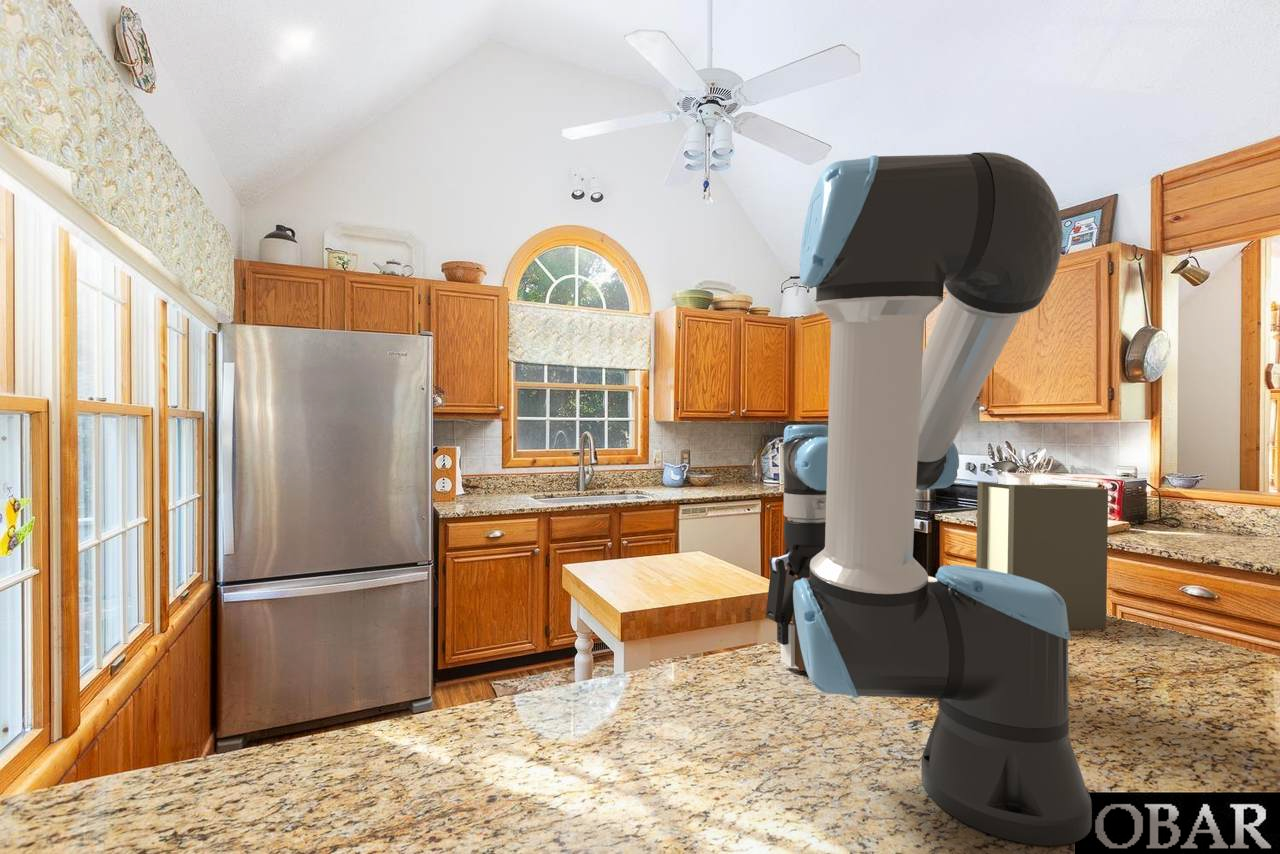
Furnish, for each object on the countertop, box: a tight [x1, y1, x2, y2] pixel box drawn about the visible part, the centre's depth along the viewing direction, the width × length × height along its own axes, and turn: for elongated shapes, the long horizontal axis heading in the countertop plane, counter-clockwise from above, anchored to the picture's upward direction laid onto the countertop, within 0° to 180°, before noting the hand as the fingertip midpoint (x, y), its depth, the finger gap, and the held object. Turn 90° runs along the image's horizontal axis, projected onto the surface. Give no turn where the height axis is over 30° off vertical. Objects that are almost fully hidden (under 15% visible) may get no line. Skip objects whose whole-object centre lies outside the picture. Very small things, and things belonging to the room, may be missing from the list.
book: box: [975, 480, 1109, 631], centre depth 118 cm, size 22×9×28 cm, turn 100°
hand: (808, 659), depth 98 cm, fingers closed on mug, 7 cm apart
